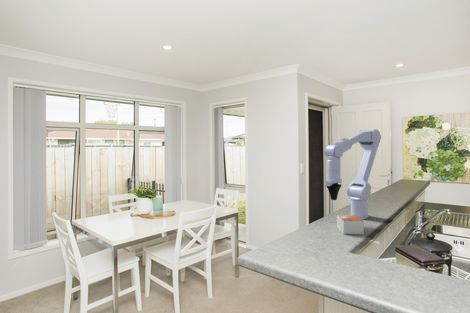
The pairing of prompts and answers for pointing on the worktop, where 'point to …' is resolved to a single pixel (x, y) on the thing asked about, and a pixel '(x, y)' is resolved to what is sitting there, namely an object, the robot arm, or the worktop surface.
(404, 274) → the worktop surface
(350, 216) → the small box
